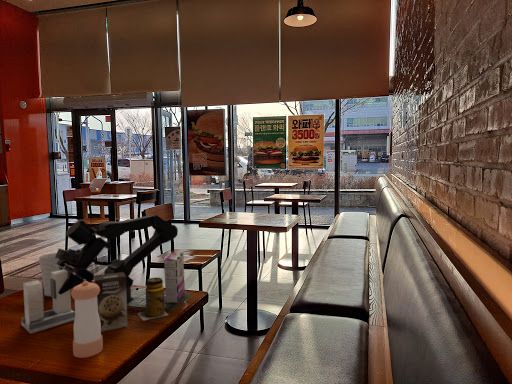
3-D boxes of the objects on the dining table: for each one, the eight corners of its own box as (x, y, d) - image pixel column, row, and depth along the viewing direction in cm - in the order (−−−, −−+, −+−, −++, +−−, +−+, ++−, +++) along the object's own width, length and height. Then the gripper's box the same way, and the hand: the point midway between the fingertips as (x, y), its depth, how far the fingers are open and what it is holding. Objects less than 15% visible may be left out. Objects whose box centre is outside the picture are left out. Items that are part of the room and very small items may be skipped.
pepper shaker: (97, 357, 93) (94, 285, 92) (68, 358, 93) (65, 286, 91) (106, 343, 100) (103, 277, 99) (79, 345, 100) (76, 277, 99)
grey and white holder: (70, 311, 124) (68, 272, 123) (80, 318, 118) (78, 277, 117) (21, 325, 113) (19, 282, 112) (30, 333, 107) (27, 288, 106)
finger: (66, 307, 121) (64, 269, 120) (71, 310, 118) (69, 271, 117) (51, 311, 117) (49, 272, 117) (56, 314, 114) (53, 275, 114)
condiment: (168, 315, 120) (167, 280, 119) (143, 321, 115) (142, 285, 114) (161, 308, 126) (160, 275, 125) (137, 313, 121) (136, 279, 121)
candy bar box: (172, 292, 142) (171, 252, 141) (185, 292, 142) (184, 252, 141) (164, 303, 130) (163, 259, 129) (178, 303, 130) (177, 259, 129)
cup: (47, 290, 146) (45, 253, 145) (69, 289, 147) (67, 252, 146) (36, 298, 137) (34, 258, 137) (60, 297, 138) (58, 257, 137)
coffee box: (96, 333, 107) (94, 280, 106) (95, 325, 113) (92, 275, 112) (128, 326, 111) (126, 276, 110) (125, 319, 117) (123, 270, 116)
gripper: (61, 235, 126) (27, 273, 118) (82, 242, 113) (45, 285, 106) (85, 253, 132) (54, 290, 125) (107, 261, 119) (75, 303, 112)
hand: (56, 292), depth 116 cm, fingers closed on finger, 4 cm apart
